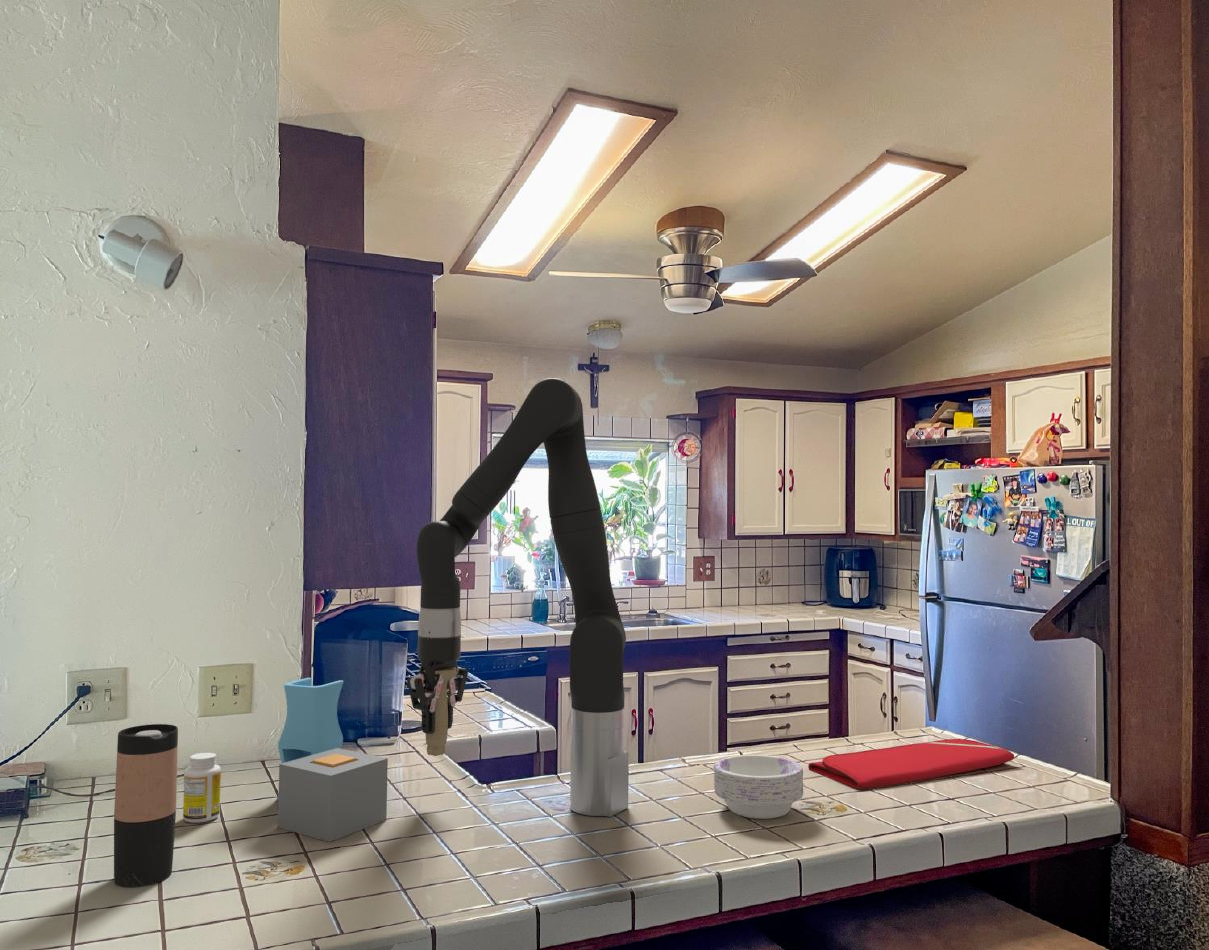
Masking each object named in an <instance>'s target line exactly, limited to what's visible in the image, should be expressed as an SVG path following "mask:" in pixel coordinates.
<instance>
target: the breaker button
mask: <svg viewBox="0 0 1209 950" xmlns="http://www.w3.org/2000/svg"><path fill="white" fill-rule="evenodd" d="M354 761H356V758H354V757H349V756H344V755H339V754H333V755H329V756H326V757H322V758H319V759H315V760H313V763H314V764H318V765H323V766H327V767H332V768H334V767H337V766H340V765H344V764H347V763H350V762H354Z"/></svg>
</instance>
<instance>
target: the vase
mask: <svg viewBox="0 0 1209 950" xmlns="http://www.w3.org/2000/svg"><path fill="white" fill-rule="evenodd" d="M312 683H313V681H312V677H306V678H302V679H297V680H294V681H289V682H286V683H284V684H283V687H284V692H285V693H284V694H285V701H286V718H285V723H284V725H283V726H284V727H283V730H282V731H281V734H280V737H279V738H278V739H279V740H278V742H277V743H278V744H277V748H278V753H279V757H280V764H281V763H285V762H288V761H292V760H296V759H299V758H303V757H307V756H310V755H314V754H318V753H321V752H325V751H328V750H332V749H336V748H339V749H342V745H343V744H344V743H343V742H344V736H343V733H342V730H341V727H340V725H339V719H338V702H339V698H340V694H341V690H342V688H343V685H344V680H341V679H340V680H337V681H336V680H335V681H333V682H329V683H326V684H322V685H313V684H312ZM278 797H279V792H278V793H277V798H276V800H278Z"/></svg>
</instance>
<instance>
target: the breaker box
mask: <svg viewBox="0 0 1209 950" xmlns="http://www.w3.org/2000/svg"><path fill="white" fill-rule="evenodd" d="M333 754H339V755H344V756H349V757H354V758H356V761H354V762H350V763H347V764H344V765H340V766H337V767H334V768H332V767H327V766H323V765H318V764H314V763H313V760H315V759H319V758H322V757H326V756H329V755H333ZM388 763H389V760H388V758H387V757H383V756H378V755H374V754H373V755H372V754H368V753H365V752H364V753H363V752H359V751H358V752H357V751H354V750H353V751H352V750H349V749H344V748H341V749H339V748H336V749H332V750H328V751H325V752H321V753H318V754H314V755H310V756H307V757H303V758H299V759H296V760H292V761H288V762H285V763H281V762H280V763H279V768H278V769H279V770H278V793H279V797H278V796H277V797H278V799H277V801H278V805H277V828H280V829H283V830H286V831H290V832H293V833H297V834H299V835H300V834H301V835H304V836H306V837H307V836H308V837H310V838H314V839H318V840H321V841H325V842H332V841H335V840H338V839H341V838H343V837H345V836H348V835H352V834H354V833H356V832H358V831H362V830H363V829H367V828H368V827H369V828H370V827H371V826H373V825H377V824H379V823H382V822H385V821H387V815H388V813H387V809H388V808H387V807H388V767H389V766H388Z"/></svg>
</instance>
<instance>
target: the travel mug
mask: <svg viewBox="0 0 1209 950" xmlns="http://www.w3.org/2000/svg"><path fill="white" fill-rule="evenodd" d="M178 731H179V729H178V726H176V725H173V724H168V723H167V724H166V723H165V724H164V723H154V724H153V723H152V724H143V725H137V726H130V727H127V728H124V729H121V730H120V731H118V733H117V742H116V743H117V746H116V747H117V748H116V750H117V751H116V765H115V766H116V769H115V789H114V814H113V818H114V819H113V881H114V883H115V885H117V886H119V887H123V888H139V887H146V886H151V885H154V884H158V883H160V882H162V881H165V880H166V879H167V878H170V877H171V875H172V873H173V863H174V848H175V846H174V845H175V833H176V831H175V830H176V818H177V791H178V790H177V789H178V786H177V785H178V743H179V742H178V741H179V739H178V737H179V732H178Z"/></svg>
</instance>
